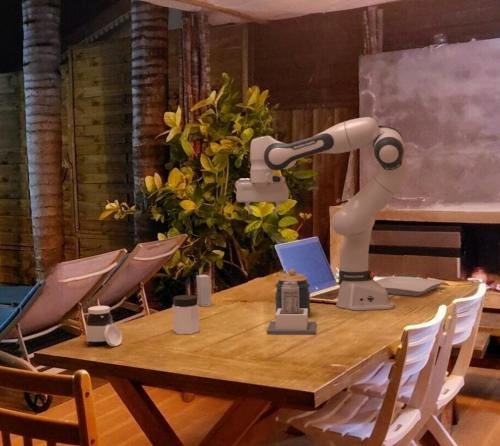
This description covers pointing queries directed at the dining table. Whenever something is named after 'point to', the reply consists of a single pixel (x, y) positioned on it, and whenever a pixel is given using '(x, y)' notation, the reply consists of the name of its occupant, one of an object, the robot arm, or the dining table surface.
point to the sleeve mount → (292, 324)
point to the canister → (303, 288)
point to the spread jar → (102, 327)
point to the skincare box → (204, 290)
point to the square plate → (408, 285)
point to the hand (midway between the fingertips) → (262, 213)
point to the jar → (185, 314)
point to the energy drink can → (290, 297)
